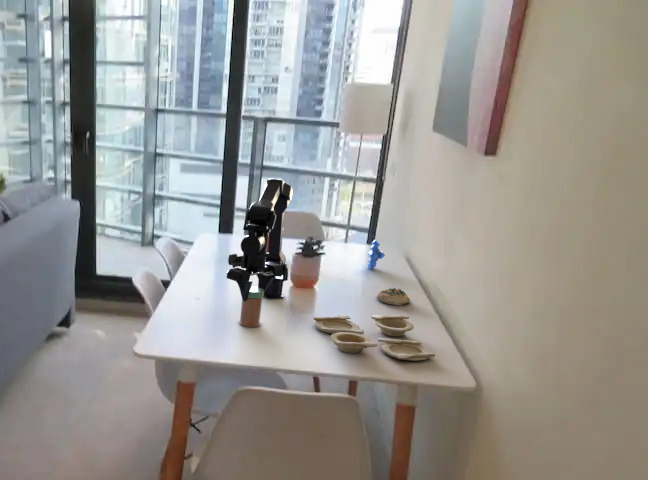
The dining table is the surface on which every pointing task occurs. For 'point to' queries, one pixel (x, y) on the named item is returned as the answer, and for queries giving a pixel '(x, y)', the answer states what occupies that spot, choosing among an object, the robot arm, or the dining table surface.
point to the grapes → (374, 254)
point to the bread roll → (393, 296)
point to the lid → (256, 292)
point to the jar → (250, 312)
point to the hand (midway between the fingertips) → (252, 299)
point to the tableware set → (388, 325)
